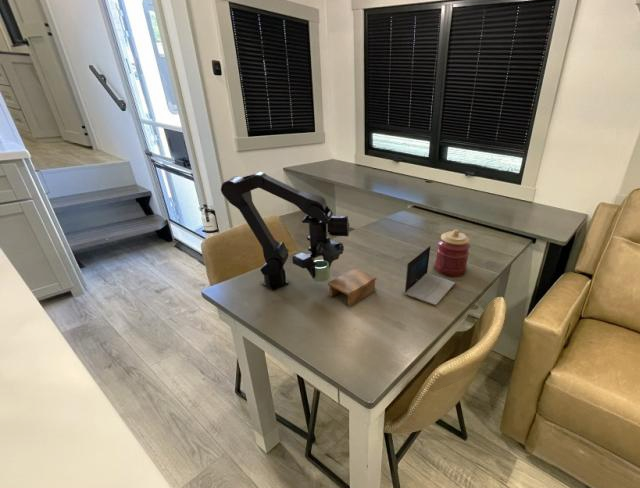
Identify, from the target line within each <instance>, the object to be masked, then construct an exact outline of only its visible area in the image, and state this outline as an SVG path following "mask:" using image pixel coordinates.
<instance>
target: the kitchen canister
mask: <svg viewBox="0 0 640 488" xmlns="http://www.w3.org/2000/svg"><path fill="white" fill-rule="evenodd" d="M437 244H438V246H437V248H436V257H435V261H434V262H435V263H434V267H435V270H436V271H437V272H439V273H440V274H442V275H445V276H449V277H458V276H463V274H465V272H466V271H467V265H468V264H467V263H468V259H469V256H470V251H469V249H470V248H471V244H470V238H469V237H468V236H467V235H466V234H465V233H463V232H460V231H459V230H458V229H453V230H450V231H446V232H444V233H442V234H441V235H440V238H439V239H438V241H437Z"/></svg>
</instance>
